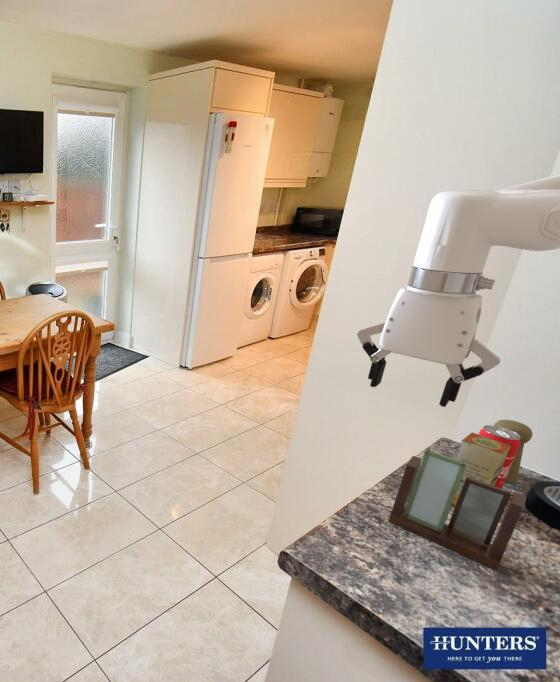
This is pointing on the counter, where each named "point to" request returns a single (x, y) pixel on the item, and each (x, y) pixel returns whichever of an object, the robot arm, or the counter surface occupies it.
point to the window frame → (466, 518)
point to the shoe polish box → (481, 459)
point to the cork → (525, 436)
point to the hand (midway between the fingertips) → (408, 393)
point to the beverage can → (507, 438)
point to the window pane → (434, 489)
